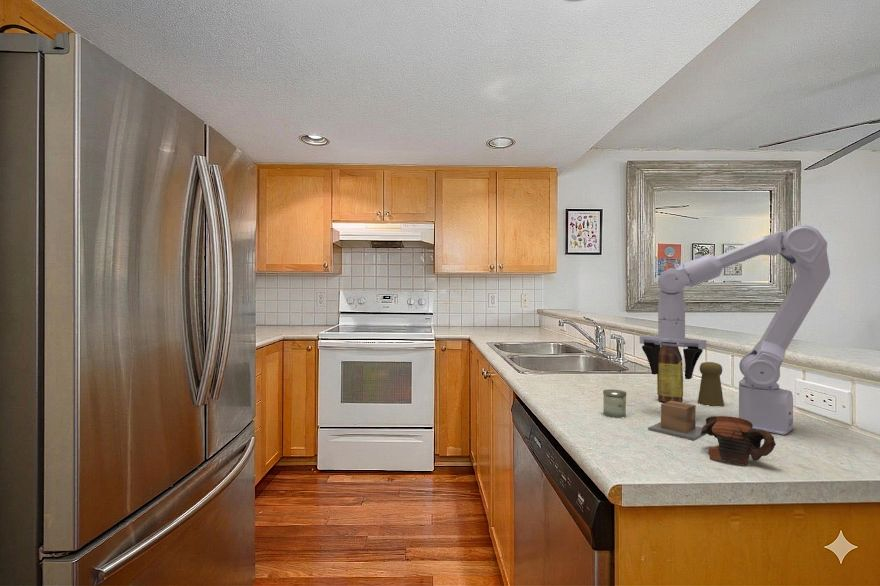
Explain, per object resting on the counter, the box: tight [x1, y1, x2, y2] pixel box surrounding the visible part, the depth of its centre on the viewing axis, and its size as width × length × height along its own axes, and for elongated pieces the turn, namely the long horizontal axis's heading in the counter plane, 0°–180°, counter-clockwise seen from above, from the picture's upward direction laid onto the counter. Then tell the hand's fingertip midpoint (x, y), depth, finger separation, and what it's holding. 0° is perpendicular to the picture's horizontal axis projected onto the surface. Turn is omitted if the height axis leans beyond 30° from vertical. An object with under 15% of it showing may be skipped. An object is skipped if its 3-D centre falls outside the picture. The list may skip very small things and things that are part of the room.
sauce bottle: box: [656, 342, 684, 403], centre depth 119 cm, size 6×6×20 cm
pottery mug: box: [701, 415, 777, 467], centre depth 78 cm, size 12×10×8 cm
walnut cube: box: [660, 401, 697, 433], centre depth 94 cm, size 5×5×5 cm
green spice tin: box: [602, 388, 627, 419], centre depth 106 cm, size 5×5×6 cm
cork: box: [697, 361, 725, 407], centre depth 117 cm, size 6×6×11 cm
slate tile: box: [647, 421, 706, 441], centre depth 93 cm, size 9×9×1 cm
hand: (671, 376), depth 105 cm, fingers open, 7 cm apart
